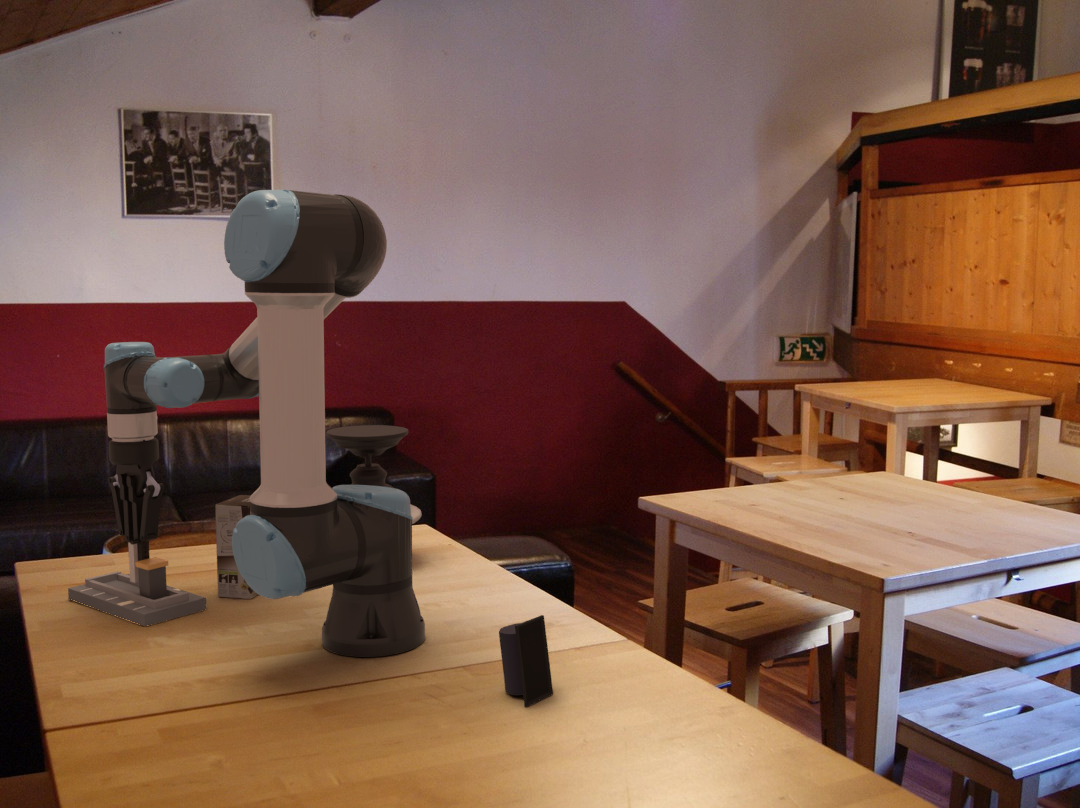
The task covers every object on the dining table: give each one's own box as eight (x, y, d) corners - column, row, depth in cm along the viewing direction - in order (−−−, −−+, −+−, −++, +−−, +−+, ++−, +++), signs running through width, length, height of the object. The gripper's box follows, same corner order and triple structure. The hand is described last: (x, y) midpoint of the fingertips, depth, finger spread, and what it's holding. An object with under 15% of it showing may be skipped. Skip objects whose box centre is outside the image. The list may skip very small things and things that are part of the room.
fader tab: (169, 595, 169) (168, 560, 169) (149, 600, 166) (147, 565, 166) (157, 591, 172) (155, 557, 171) (137, 596, 169) (135, 561, 168)
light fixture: (314, 554, 204) (310, 425, 201) (413, 547, 209) (411, 421, 206) (322, 582, 185) (318, 440, 182) (430, 573, 190) (428, 435, 188)
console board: (206, 609, 170) (205, 590, 169) (144, 627, 161) (144, 606, 161) (129, 584, 184) (128, 567, 183) (68, 599, 175) (67, 581, 175)
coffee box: (252, 599, 175) (248, 505, 173) (216, 597, 176) (213, 503, 174) (276, 584, 184) (273, 494, 182) (242, 582, 185) (239, 493, 183)
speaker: (565, 696, 133) (557, 616, 133) (525, 708, 130) (517, 626, 130) (535, 683, 140) (528, 606, 139) (497, 693, 137) (489, 615, 136)
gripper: (177, 438, 167) (183, 581, 170) (132, 431, 175) (139, 568, 178) (134, 444, 161) (141, 592, 164) (90, 437, 169) (97, 578, 172)
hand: (140, 580), depth 171 cm, fingers closed
